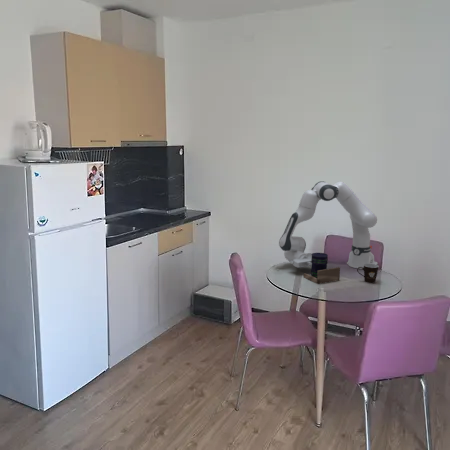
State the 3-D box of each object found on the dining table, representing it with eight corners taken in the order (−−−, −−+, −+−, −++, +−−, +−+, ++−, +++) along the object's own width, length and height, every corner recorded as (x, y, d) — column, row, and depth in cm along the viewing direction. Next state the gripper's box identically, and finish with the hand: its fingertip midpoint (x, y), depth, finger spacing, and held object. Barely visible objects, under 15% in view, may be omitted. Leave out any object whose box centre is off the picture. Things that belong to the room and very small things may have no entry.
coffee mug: (378, 280, 273) (380, 264, 271) (375, 284, 266) (376, 268, 264) (359, 277, 279) (361, 261, 277) (355, 281, 272) (356, 265, 270)
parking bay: (303, 277, 278) (304, 264, 277) (324, 273, 286) (324, 261, 284) (318, 284, 266) (318, 271, 264) (339, 280, 273) (340, 267, 272)
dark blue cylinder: (318, 281, 270) (319, 257, 267) (307, 277, 278) (308, 254, 275) (330, 278, 276) (331, 255, 273) (318, 274, 284) (319, 251, 281)
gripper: (288, 256, 287) (302, 262, 275) (314, 253, 296) (328, 258, 284) (288, 266, 288) (301, 272, 276) (314, 262, 297) (327, 267, 285)
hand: (315, 265), depth 280 cm, fingers closed
